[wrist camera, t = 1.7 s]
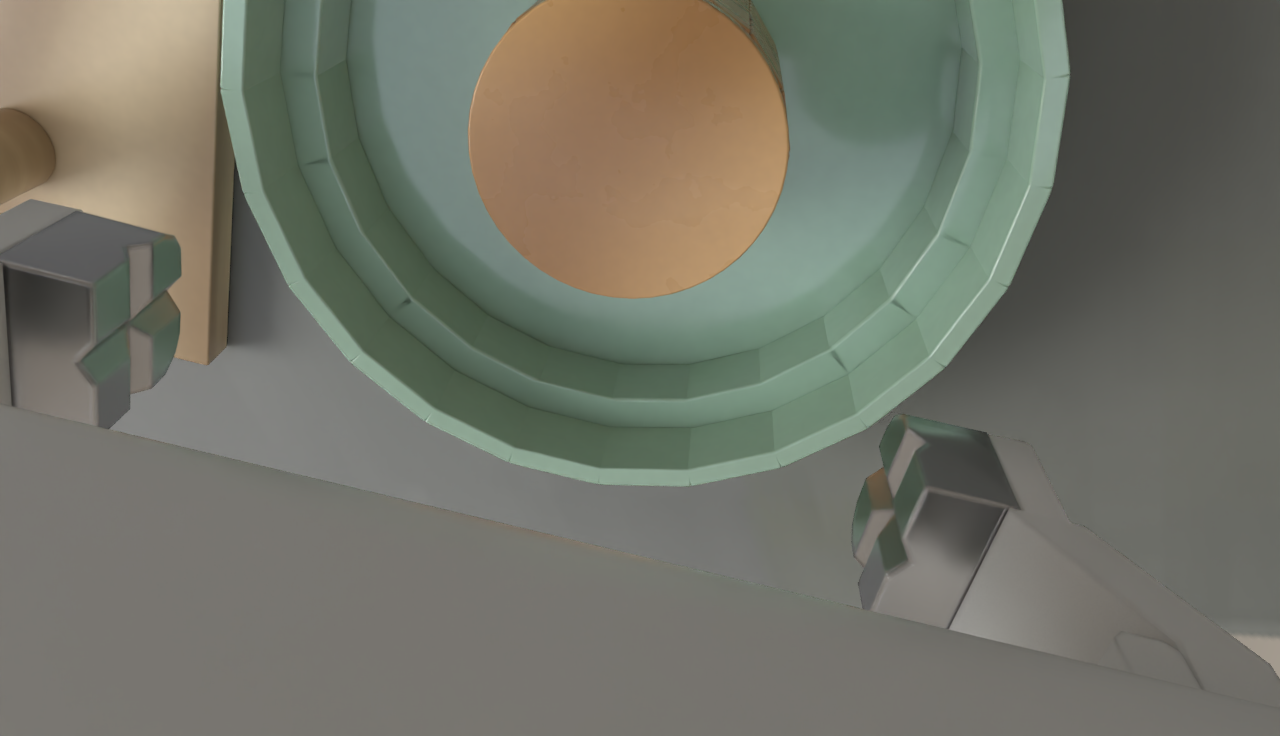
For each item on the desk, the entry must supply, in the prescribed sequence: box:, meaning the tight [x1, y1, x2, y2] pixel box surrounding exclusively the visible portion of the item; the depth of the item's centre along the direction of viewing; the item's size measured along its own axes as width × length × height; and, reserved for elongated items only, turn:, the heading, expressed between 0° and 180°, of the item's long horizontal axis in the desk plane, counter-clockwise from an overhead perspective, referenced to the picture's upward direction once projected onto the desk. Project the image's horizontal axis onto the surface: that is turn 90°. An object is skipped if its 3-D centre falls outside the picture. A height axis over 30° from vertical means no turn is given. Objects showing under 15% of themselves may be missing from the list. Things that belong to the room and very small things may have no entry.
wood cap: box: [468, 0, 790, 299], centre depth 22 cm, size 6×6×5 cm
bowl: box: [220, 0, 1071, 487], centre depth 23 cm, size 17×17×4 cm
